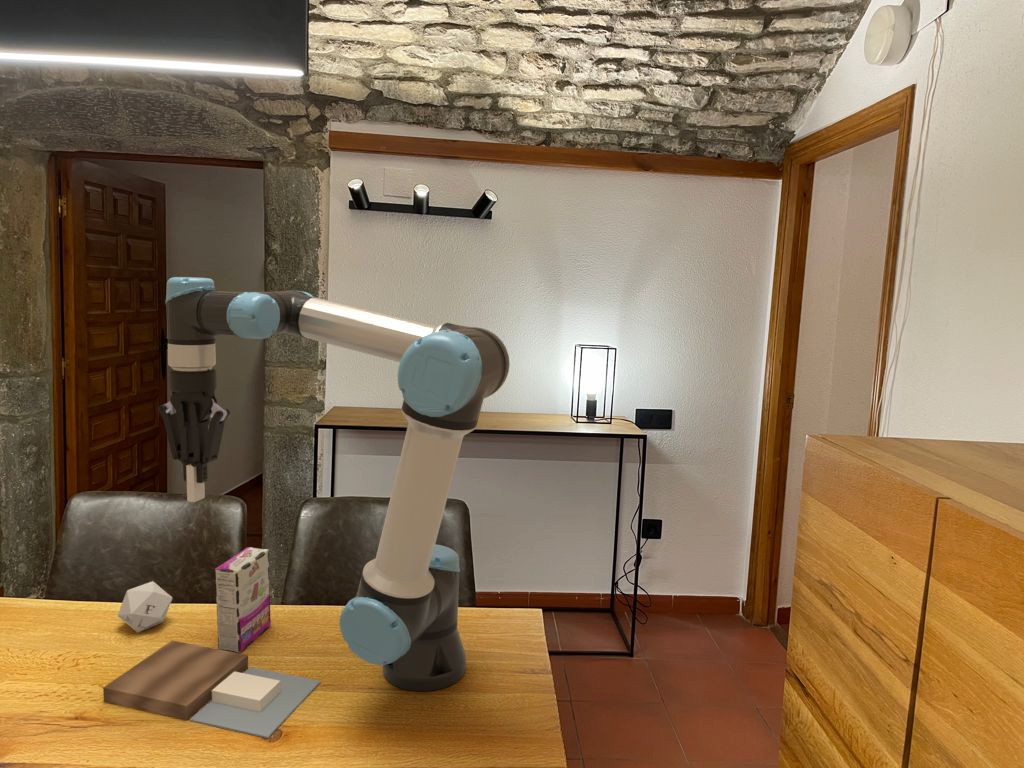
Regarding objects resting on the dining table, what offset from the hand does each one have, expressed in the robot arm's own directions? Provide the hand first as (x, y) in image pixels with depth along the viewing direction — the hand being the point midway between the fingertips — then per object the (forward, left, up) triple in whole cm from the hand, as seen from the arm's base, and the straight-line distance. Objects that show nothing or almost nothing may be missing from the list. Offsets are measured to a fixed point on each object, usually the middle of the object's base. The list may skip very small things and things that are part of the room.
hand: (196, 499), depth 126 cm
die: (+18, -7, -31) cm, 36 cm away
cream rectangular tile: (-15, +8, -30) cm, 35 cm away
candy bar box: (-3, -9, -31) cm, 32 cm away
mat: (-18, +8, -30) cm, 36 cm away
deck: (-2, +8, -30) cm, 32 cm away
